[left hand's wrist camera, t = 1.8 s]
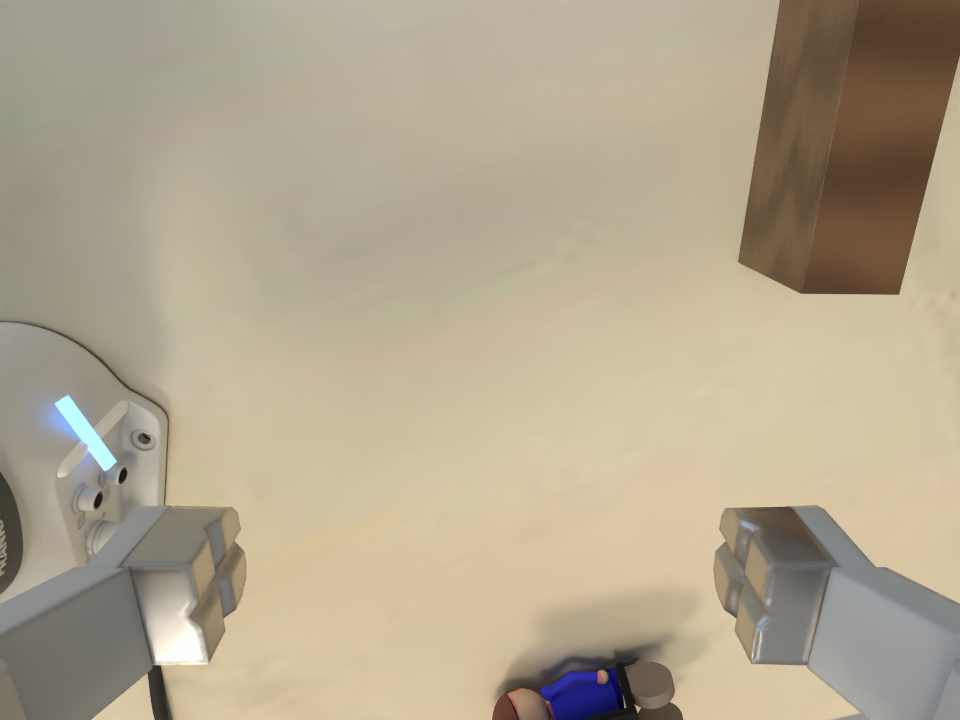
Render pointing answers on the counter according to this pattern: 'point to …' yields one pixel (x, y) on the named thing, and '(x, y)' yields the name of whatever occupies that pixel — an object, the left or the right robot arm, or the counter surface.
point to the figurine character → (597, 696)
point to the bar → (848, 141)
